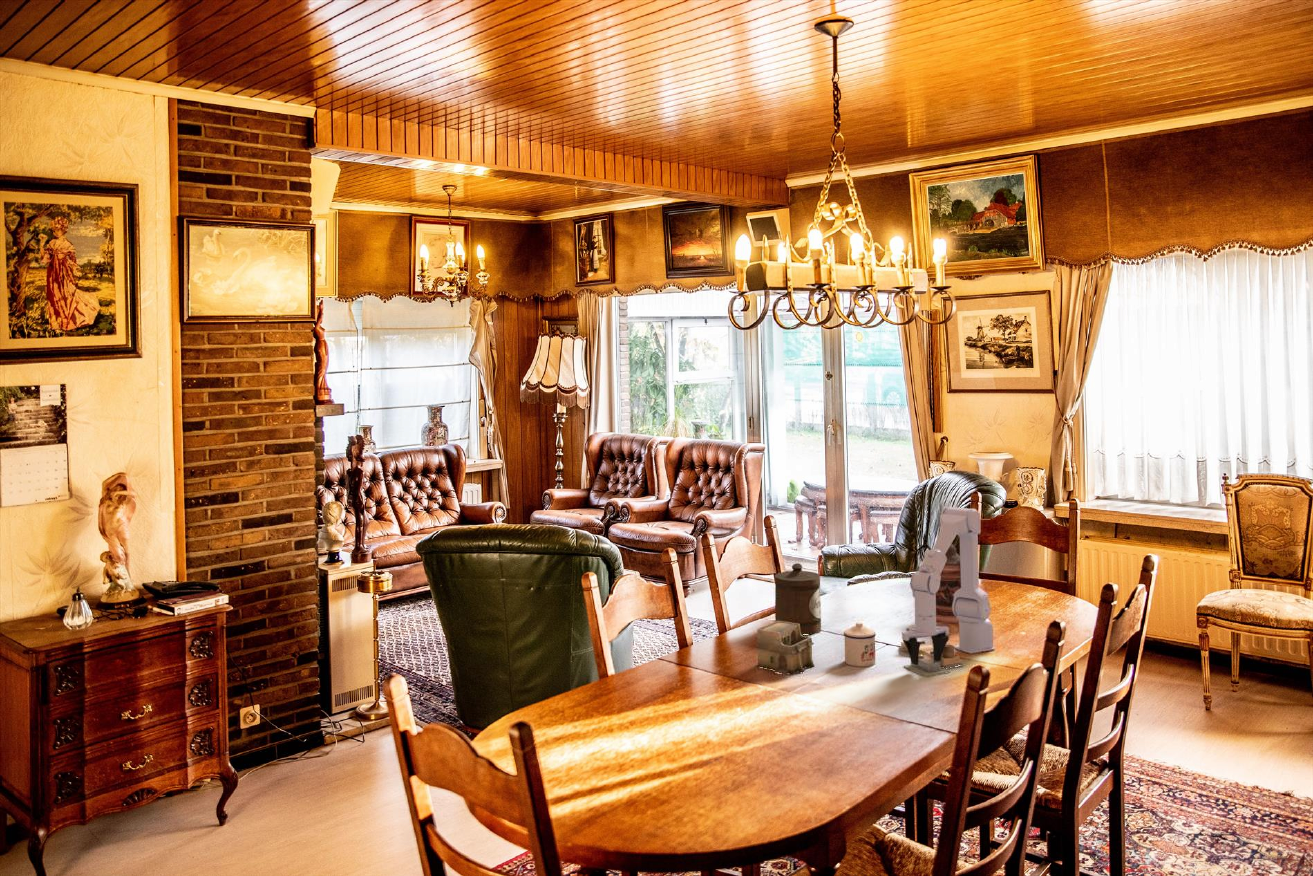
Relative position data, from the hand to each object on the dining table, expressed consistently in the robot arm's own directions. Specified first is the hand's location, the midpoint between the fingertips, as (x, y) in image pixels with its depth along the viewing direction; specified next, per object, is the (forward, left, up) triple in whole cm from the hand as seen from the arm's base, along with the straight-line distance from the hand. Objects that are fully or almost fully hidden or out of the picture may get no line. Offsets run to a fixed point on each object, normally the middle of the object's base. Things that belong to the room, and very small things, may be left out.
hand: (926, 662), depth 277 cm
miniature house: (+34, -21, -3) cm, 40 cm away
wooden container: (+10, -54, -2) cm, 55 cm away
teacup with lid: (+11, -15, -2) cm, 19 cm away
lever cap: (0, 0, -2) cm, 2 cm away
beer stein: (-41, -41, -2) cm, 58 cm away
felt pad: (0, 0, -2) cm, 2 cm away
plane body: (-8, -9, -2) cm, 12 cm away
